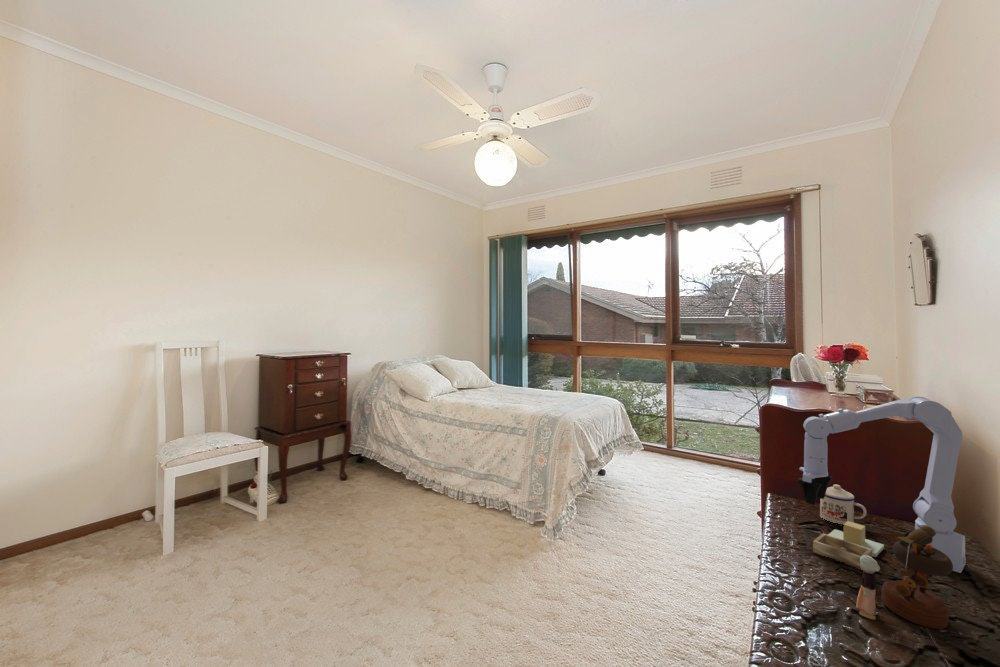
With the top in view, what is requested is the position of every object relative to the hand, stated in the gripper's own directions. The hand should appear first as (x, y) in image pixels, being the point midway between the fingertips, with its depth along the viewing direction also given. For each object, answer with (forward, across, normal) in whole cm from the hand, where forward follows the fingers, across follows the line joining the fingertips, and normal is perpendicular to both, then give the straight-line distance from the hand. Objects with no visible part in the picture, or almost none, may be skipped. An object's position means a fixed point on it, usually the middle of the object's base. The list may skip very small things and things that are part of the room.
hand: (815, 500), depth 127 cm
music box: (+11, +24, +26) cm, 37 cm away
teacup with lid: (+11, -18, +2) cm, 21 cm away
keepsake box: (+10, +9, +9) cm, 16 cm away
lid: (+10, -2, +9) cm, 14 cm away
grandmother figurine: (+11, +34, +20) cm, 41 cm away
